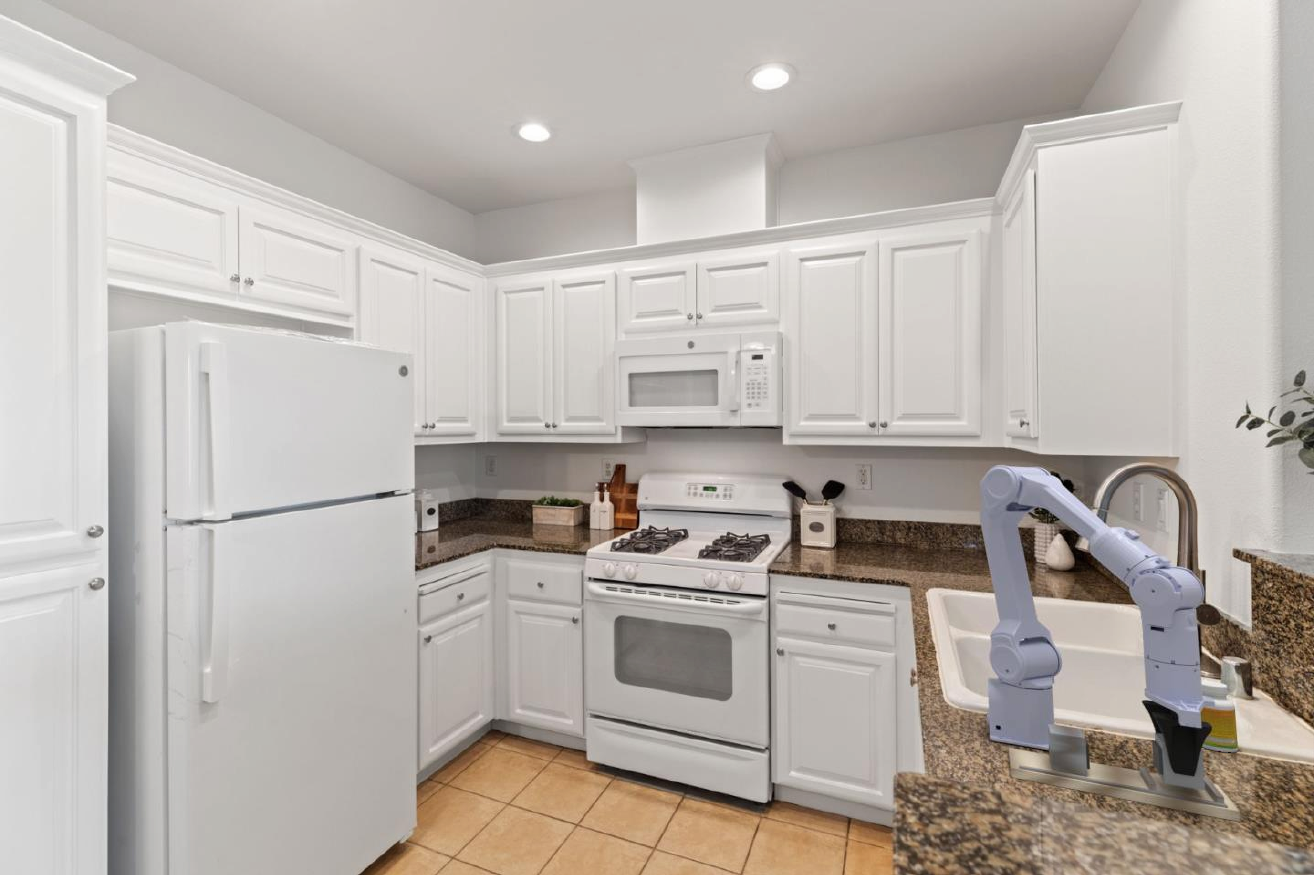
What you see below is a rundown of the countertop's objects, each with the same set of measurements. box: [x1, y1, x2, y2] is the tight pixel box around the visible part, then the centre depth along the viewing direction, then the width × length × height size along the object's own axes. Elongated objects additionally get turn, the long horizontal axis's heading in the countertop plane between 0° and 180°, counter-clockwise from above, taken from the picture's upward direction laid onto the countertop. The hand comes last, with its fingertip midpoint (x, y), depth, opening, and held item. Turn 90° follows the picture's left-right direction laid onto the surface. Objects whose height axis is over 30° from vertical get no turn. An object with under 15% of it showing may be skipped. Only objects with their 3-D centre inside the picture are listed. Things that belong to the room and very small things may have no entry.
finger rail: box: [1008, 724, 1242, 823], centre depth 83 cm, size 24×8×6 cm, turn 62°
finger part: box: [1151, 732, 1205, 791], centre depth 80 cm, size 4×4×5 cm
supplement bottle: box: [1200, 679, 1239, 753], centre depth 98 cm, size 5×5×10 cm
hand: (1178, 767), depth 80 cm, fingers closed on finger part, 4 cm apart
